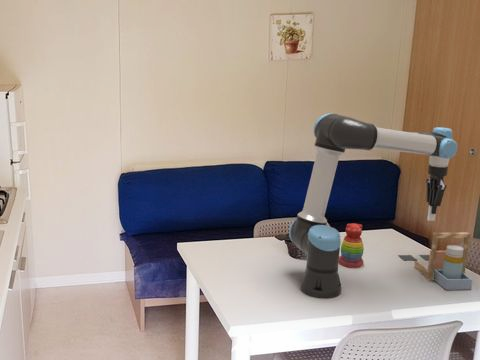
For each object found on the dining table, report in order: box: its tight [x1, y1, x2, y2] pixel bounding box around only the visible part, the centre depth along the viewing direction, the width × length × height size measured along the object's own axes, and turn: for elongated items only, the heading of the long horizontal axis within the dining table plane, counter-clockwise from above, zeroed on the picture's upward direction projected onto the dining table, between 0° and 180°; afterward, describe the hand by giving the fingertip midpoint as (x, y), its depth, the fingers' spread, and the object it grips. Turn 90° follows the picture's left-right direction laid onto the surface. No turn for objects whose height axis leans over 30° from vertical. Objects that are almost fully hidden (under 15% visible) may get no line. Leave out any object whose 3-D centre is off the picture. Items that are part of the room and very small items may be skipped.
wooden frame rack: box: [413, 231, 472, 282], centre depth 222 cm, size 15×14×20 cm
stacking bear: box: [338, 222, 365, 269], centre depth 229 cm, size 11×10×18 cm
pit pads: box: [398, 254, 430, 262], centre depth 241 cm, size 16×6×1 cm, turn 98°
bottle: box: [442, 244, 464, 279], centre depth 213 cm, size 7×7×15 cm
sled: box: [427, 250, 473, 291], centre depth 216 cm, size 10×18×9 cm, turn 8°
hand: (430, 220), depth 229 cm, fingers closed
